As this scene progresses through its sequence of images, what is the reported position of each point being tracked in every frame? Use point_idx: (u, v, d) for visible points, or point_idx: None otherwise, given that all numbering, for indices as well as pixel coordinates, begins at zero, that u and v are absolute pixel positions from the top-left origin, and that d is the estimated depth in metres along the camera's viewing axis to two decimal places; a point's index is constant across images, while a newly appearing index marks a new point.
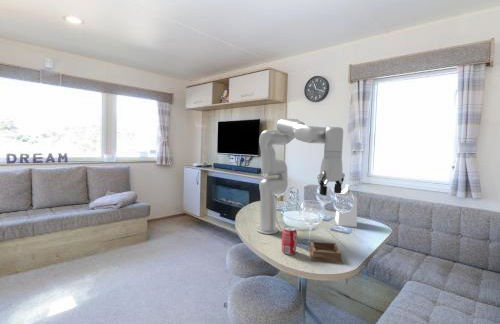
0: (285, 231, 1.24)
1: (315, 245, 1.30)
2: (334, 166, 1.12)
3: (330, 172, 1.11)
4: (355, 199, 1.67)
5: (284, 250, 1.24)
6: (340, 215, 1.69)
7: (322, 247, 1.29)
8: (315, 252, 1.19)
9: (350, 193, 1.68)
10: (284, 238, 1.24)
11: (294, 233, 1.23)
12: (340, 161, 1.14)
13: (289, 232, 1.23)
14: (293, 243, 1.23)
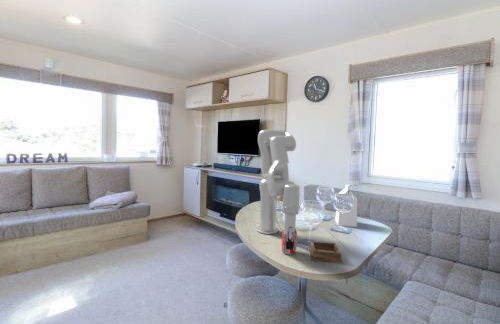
0: None
1: (315, 245, 1.30)
2: None
3: None
4: (355, 199, 1.67)
5: (284, 250, 1.24)
6: (340, 215, 1.69)
7: (322, 247, 1.29)
8: (315, 252, 1.19)
9: (350, 193, 1.68)
10: (284, 238, 1.24)
11: None
12: None
13: None
14: (293, 243, 1.23)
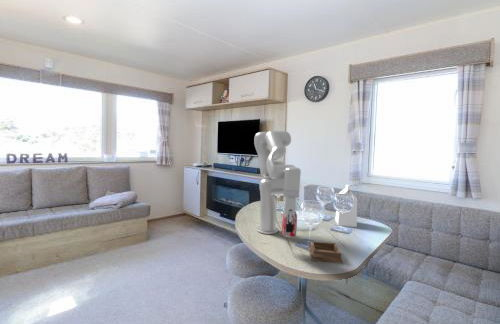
0: None
1: (315, 245, 1.30)
2: None
3: (295, 210, 1.21)
4: (355, 199, 1.67)
5: (284, 233, 1.24)
6: (340, 215, 1.69)
7: (322, 247, 1.29)
8: (315, 252, 1.19)
9: (350, 193, 1.68)
10: (284, 221, 1.24)
11: None
12: None
13: None
14: (293, 226, 1.23)
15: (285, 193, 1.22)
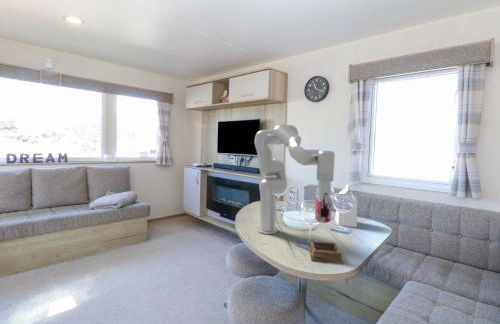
0: None
1: (315, 245, 1.30)
2: None
3: None
4: (355, 199, 1.67)
5: (318, 218, 1.21)
6: (340, 215, 1.69)
7: (322, 247, 1.29)
8: (315, 252, 1.19)
9: (350, 193, 1.68)
10: (318, 206, 1.20)
11: None
12: None
13: None
14: (328, 211, 1.19)
15: (319, 177, 1.19)
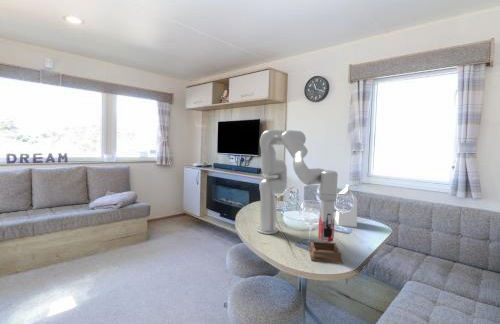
0: None
1: (315, 245, 1.30)
2: None
3: (333, 214, 1.19)
4: (355, 199, 1.67)
5: (322, 238, 1.21)
6: (340, 215, 1.69)
7: (322, 247, 1.29)
8: (315, 252, 1.19)
9: (350, 193, 1.68)
10: (321, 225, 1.21)
11: None
12: None
13: None
14: None
15: (322, 197, 1.20)
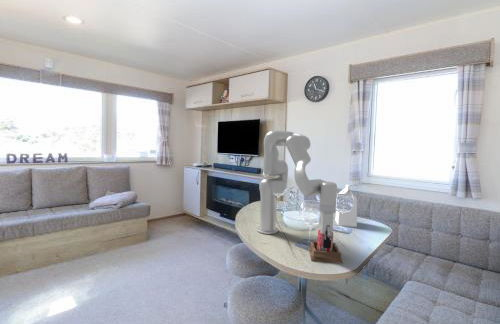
0: None
1: (315, 245, 1.30)
2: None
3: (332, 225, 1.19)
4: (355, 199, 1.67)
5: None
6: (340, 215, 1.69)
7: None
8: (315, 252, 1.19)
9: (350, 193, 1.68)
10: (320, 238, 1.22)
11: (331, 234, 1.21)
12: None
13: (326, 232, 1.21)
14: None
15: (322, 208, 1.20)
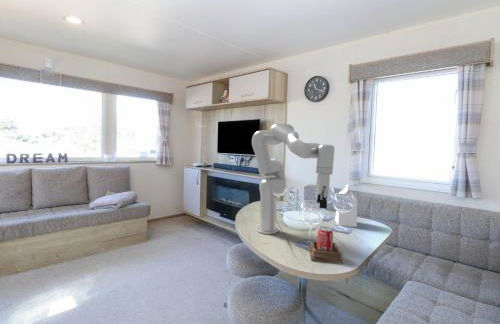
0: (321, 231, 1.22)
1: (315, 245, 1.30)
2: None
3: None
4: (355, 199, 1.67)
5: None
6: (340, 215, 1.69)
7: None
8: (315, 252, 1.19)
9: (350, 193, 1.68)
10: (320, 238, 1.22)
11: (331, 233, 1.21)
12: None
13: (326, 232, 1.21)
14: (330, 244, 1.21)
15: (319, 170, 1.22)
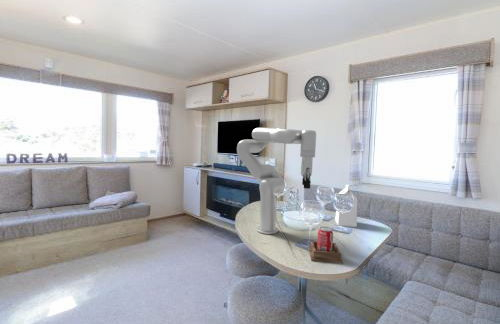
0: (321, 231, 1.22)
1: (315, 245, 1.30)
2: (312, 162, 1.34)
3: None
4: (355, 199, 1.67)
5: None
6: (340, 215, 1.69)
7: None
8: (315, 252, 1.19)
9: (350, 193, 1.68)
10: (320, 238, 1.22)
11: (331, 233, 1.21)
12: None
13: (326, 232, 1.21)
14: (330, 244, 1.21)
15: (302, 153, 1.33)
